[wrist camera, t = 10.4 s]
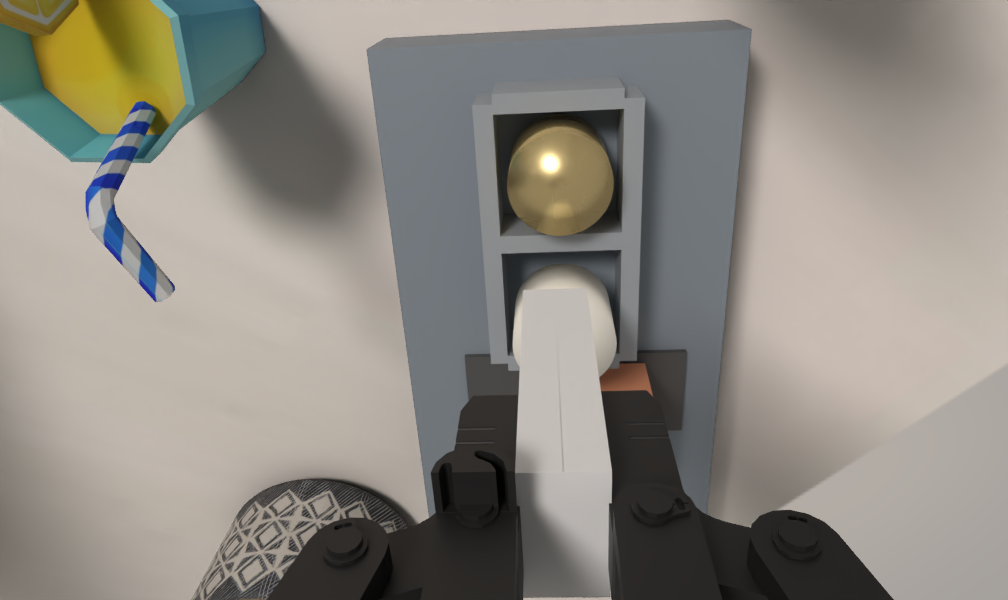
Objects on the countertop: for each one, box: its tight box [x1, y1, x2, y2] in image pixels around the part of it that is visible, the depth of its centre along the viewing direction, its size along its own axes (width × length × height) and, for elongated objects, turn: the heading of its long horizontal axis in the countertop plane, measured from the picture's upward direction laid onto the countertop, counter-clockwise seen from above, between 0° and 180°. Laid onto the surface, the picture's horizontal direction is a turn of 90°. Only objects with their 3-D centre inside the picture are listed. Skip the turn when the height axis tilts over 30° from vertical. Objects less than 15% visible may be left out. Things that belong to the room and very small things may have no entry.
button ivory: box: [513, 263, 617, 377], centre depth 30 cm, size 4×4×4 cm
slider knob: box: [599, 363, 653, 396], centre depth 35 cm, size 2×4×4 cm, turn 3°
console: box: [367, 20, 752, 518], centre depth 36 cm, size 16×28×7 cm, turn 3°
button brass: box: [507, 114, 614, 236], centre depth 30 cm, size 4×4×4 cm
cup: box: [0, 0, 266, 302], centre depth 28 cm, size 14×8×15 cm, turn 22°
